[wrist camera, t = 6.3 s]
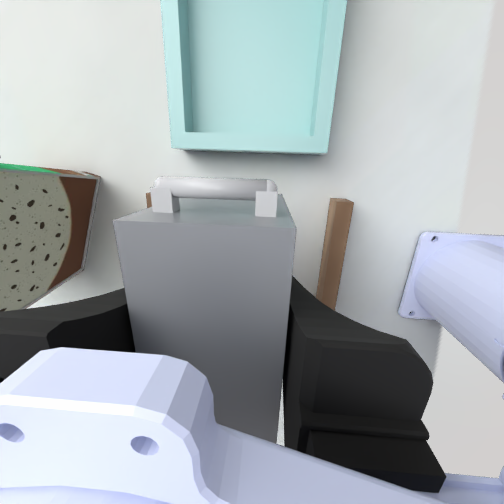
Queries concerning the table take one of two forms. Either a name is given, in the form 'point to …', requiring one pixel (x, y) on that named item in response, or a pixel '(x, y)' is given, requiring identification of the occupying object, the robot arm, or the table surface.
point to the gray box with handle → (214, 288)
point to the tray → (252, 73)
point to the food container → (42, 230)
